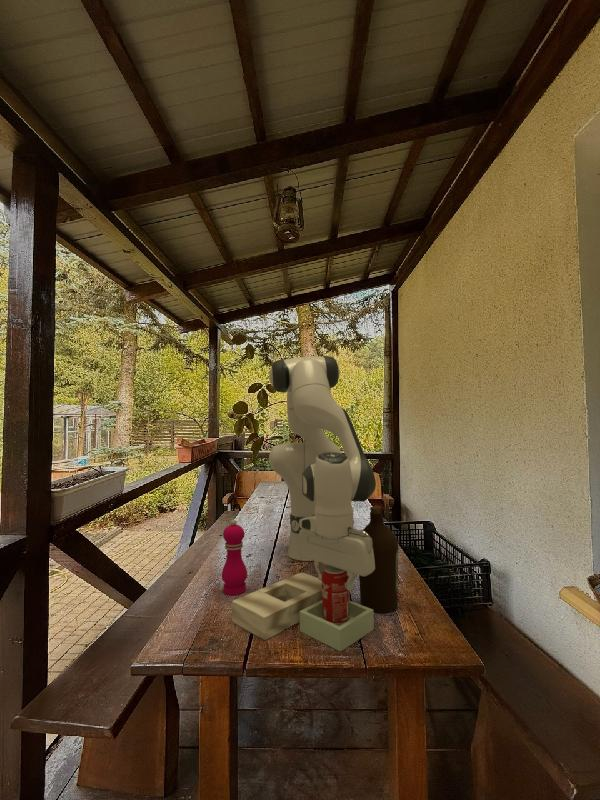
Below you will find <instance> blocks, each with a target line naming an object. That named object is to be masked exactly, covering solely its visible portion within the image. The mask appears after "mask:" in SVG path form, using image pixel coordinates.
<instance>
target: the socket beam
mask: <svg viewBox="0 0 600 800" xmlns="http://www.w3.org/2000/svg"><path fill="white" fill-rule="evenodd" d="M321 600H322V581H321V580H319V579H318V576H317V577H316V576H314V575H311V574H308V573H305V572H299V573H296V574H294V575H292V576H289V577H287V578H285V579H283V580H280V581H277V582H274V583H273V584H269V585H267V586H265V587H263V588H259V589H258V590H255V591H253V592H251V593H247V594H246V595H243V596H241V597H237V598H236V599H234V600H232V601H231V609H232V610H231V613H232V614H231V616H232V618H231V619H232V620H231V621H232V623H233V624H235V625H237V626H239V627H241V628H242V629H244V630H246V631H248V632H249V633H251V634H253V635H254V636H256V637H258V638H260V639H261V640H263V641H267V640H268V639H271V638H273V637H274V636H276V635H278V634H280V633H282V632H284V631H285V629H286V630H287V629H289V628H291V627H293V626H295V625H296V624H298V623H299V624H300V611H301V610H303V609H305V608H307V607H309V606H311V605H313V604H315V603H317V602H319V601H321ZM294 624H295V625H294ZM292 625H293V626H292ZM290 626H291V627H290Z"/></svg>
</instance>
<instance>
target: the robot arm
mask: <svg viewBox="0 0 600 800" xmlns="http://www.w3.org/2000/svg"><path fill="white" fill-rule="evenodd" d="M340 371H341V370H340V367H339V364H338V361H337V359H335V358H334V356H329V355H323V356H318V355H314V356H313V355H309V356H308V355H307V356H301V357H293V358H292V357H291V358H287V359H283V358H282V359H278V360H275V361H273V363H271V365H270V369H269V372H268V377H269V382H270V384H271V386H272V389H273V390H274V391H275V392H277V393H283V394H286V410H287V411H286V413H287V426H288V428H289V430H290V431H291V432H292V433H293V434H295V435H297V436H299V437H301V438H303V439H304V440H305V442H286V443H280V444H276V445H274V446H273V447H272V448H271V450H270V452H269V456H268V461H269V463H268V464H269V465H270V468H271V469H272V471H274V473H276V474H277V475H279V476H280V478H282V479H283V481H284V483H285V484H286V486H287V489H288V492H289V498H290V514H289V524H290V529H289V530H290V531H289V540H288V541H289V543H288V546H287V553H286V554H287V555H286V556H287V557H288V558H290V559H293V560H296V561H302V562H310V561H311V562H312V561H314V563H313V565H314V567H315V569H316V572H317V578H318V579H319V580H321V581H322V573H323V571H324V568H325V566H324V565H326V566H328V565H330V566H333V567H336V568H339V569H342V570H345V571H347V575H348V576H349V578H348V580H347V581H344V589H346V590H349V591H350V592H351V591H352V590H354V587H355V584H354V583H355V581H356V579H357V576H359V575H360V576H367V575H369V574H371V573H372V572H373V571H374V570H375V560H374V552H373V547H372V538H371V537H370V536H369V535H368V534H367V532H365V531H362V530H363V529H362V530H359V529H358V528H354V524H353V520H354V507H353V505H352V502H366V501H367V500H368V499H369V498H370V497H371V496H372V495H373V493H374V492H375V491H376V486H377V484H376V477H375V473H374V469H373V468H372V466H371V465H370V463H369V461H368V459H367V457H366V455H365V452H364V449H363V447H362V445H361V442H360V440H359V438H358V435H357V432H356V429H355V427H354V424H353V422H352V420H351V417H350V415H349V414H348V412H347V411H346V409H344V408H343V407H341V406H340V405H339V404H338V403H337V402H336V401H335V399H334V397H333V395H332V393H331V389H332V388H334V387H336V386H337V384H338V383H339V379H340V373H341V372H340ZM324 430H325V431H327V432H329V433H331V434H333V435H334V436H335V437H337V439H338V440H339V442H340V445H341V448H342V450H343V453H342V450H341V449H340V447H339V446H338V444H336V443H334V442H333V441H332V440H330V438H328V436H327V435H326V433H325V432H324ZM367 536H368V537H367Z"/></svg>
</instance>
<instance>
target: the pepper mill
mask: <svg viewBox="0 0 600 800" xmlns="http://www.w3.org/2000/svg"><path fill="white" fill-rule="evenodd" d="M229 523H230V524H229V525H227V526H226V527H225V528H224V530H223V533H222V538H223V540H224V541H225V543H224V545H225V546H224V548H225V550H226V559H225V563H224V565H223V568H222V570H221V571H222V572H221V579H222V582H223V583H224V584H223V593H224V594H225V595H226V596H227V595H228V596H238V595H241V594H243V593H245V592H246V590H247V582H246V580H247V578H248V570H247V567H246V565H245V562H244V559H243V557H242V549H243V547H244V545H243V543H244V541H243V539H244V538H245V530H244V528H243V527H242V526H241V525H240V524H238V522H237V520H236V519H231V520H230V522H229Z"/></svg>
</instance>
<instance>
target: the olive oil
mask: <svg viewBox="0 0 600 800" xmlns="http://www.w3.org/2000/svg"><path fill="white" fill-rule="evenodd" d="M369 510H370V511H369V519H370V521H369V523H368V524H367V525H366V526H365V527H364V528H363V529H362V531H365V532H367V534H368V535H369V536H370V537H371V538H372V547H373V552H374V560H375V570H374V571H373V572H372V573H371V574H369V575H367V576H360V575H358V581H359V595H360V597H359V598H360V599H359V600H360V605H363V606H365V607H368V608H370V609H373V613H376V612H378V613H377V614H387V613H391V612H394V611H395V610H396V609H397V608H398V605H399V602H398V595H399V594H398V593H399V592H398V591H399V590H398V588H399V585H398V584H399V583H398V581H399V578H398V577H399V543H398V538H397V536H396V535H395V533H394V532H393V531H392V529H390V527H388V525H386V523H385V522H384V512H383V510H384V509H383V506H380V505H379V506H378V505H373V506H370V508H369ZM367 537H368V536H367ZM386 612H387V613H386Z"/></svg>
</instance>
